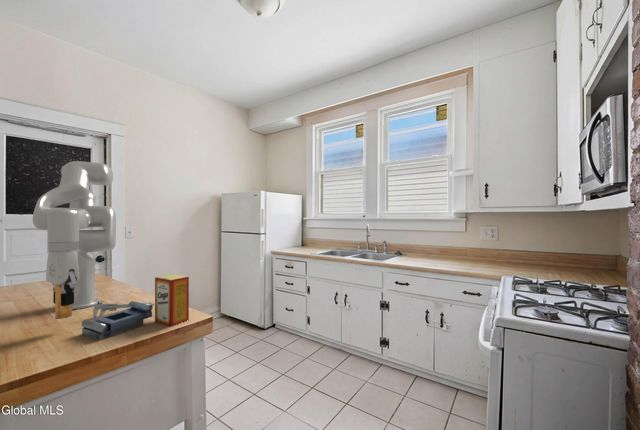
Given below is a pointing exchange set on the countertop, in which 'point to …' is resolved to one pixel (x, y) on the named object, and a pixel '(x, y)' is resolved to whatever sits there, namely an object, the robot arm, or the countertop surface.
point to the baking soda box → (171, 299)
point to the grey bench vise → (117, 321)
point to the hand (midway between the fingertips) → (63, 303)
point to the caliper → (109, 307)
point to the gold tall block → (60, 310)
